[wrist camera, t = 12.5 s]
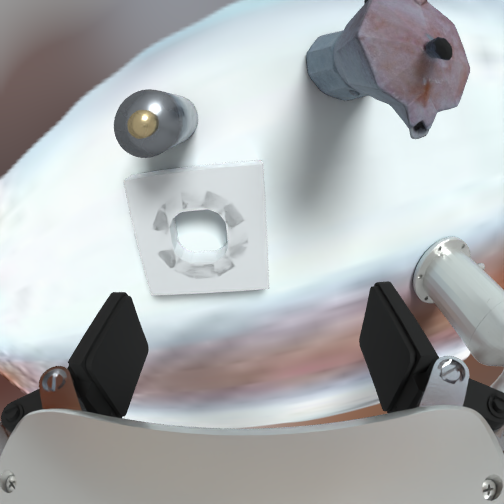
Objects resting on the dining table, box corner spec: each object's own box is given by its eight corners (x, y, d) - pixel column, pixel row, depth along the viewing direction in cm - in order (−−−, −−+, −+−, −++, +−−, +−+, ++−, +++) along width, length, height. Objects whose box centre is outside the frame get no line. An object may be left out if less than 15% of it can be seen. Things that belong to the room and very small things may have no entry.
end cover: (195, 91, 28) (173, 82, 18) (200, 140, 31) (180, 154, 21) (146, 100, 28) (104, 97, 18) (151, 147, 31) (113, 165, 21)
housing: (261, 160, 33) (263, 164, 30) (267, 276, 40) (269, 288, 37) (132, 174, 33) (123, 180, 30) (156, 283, 40) (151, 295, 37)
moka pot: (307, 124, 31) (387, 145, 13) (292, 7, 24) (345, -83, 6) (380, 124, 30) (498, 153, 13) (367, 13, 23) (466, -40, 6)
